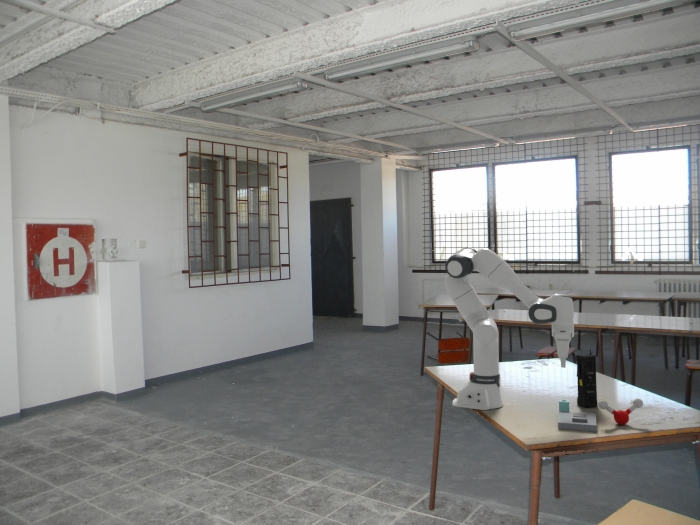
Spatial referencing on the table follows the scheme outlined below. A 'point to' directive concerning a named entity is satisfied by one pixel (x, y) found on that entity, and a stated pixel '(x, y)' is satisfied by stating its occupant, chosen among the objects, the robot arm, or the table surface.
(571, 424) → the outlet plate
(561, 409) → the block
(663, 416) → the table surface
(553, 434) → the table surface
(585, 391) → the portable radio
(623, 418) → the molecular model
